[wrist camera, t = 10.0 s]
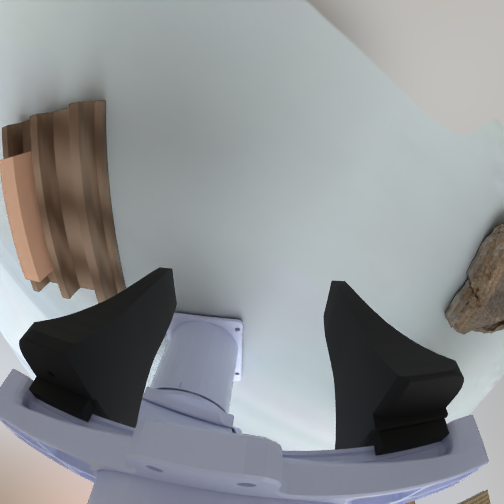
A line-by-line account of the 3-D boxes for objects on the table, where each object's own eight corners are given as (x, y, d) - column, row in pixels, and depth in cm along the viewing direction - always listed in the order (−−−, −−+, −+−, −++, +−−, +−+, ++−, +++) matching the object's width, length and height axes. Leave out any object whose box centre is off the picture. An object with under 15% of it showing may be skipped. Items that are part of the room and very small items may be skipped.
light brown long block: (61, 262, 24) (39, 282, 21) (46, 260, 24) (25, 278, 21) (42, 148, 19) (12, 156, 15) (27, 151, 19) (-1, 160, 15)
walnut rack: (125, 288, 26) (111, 307, 23) (46, 275, 27) (31, 290, 24) (105, 100, 18) (83, 100, 15) (20, 124, 18) (-1, 128, 16)
